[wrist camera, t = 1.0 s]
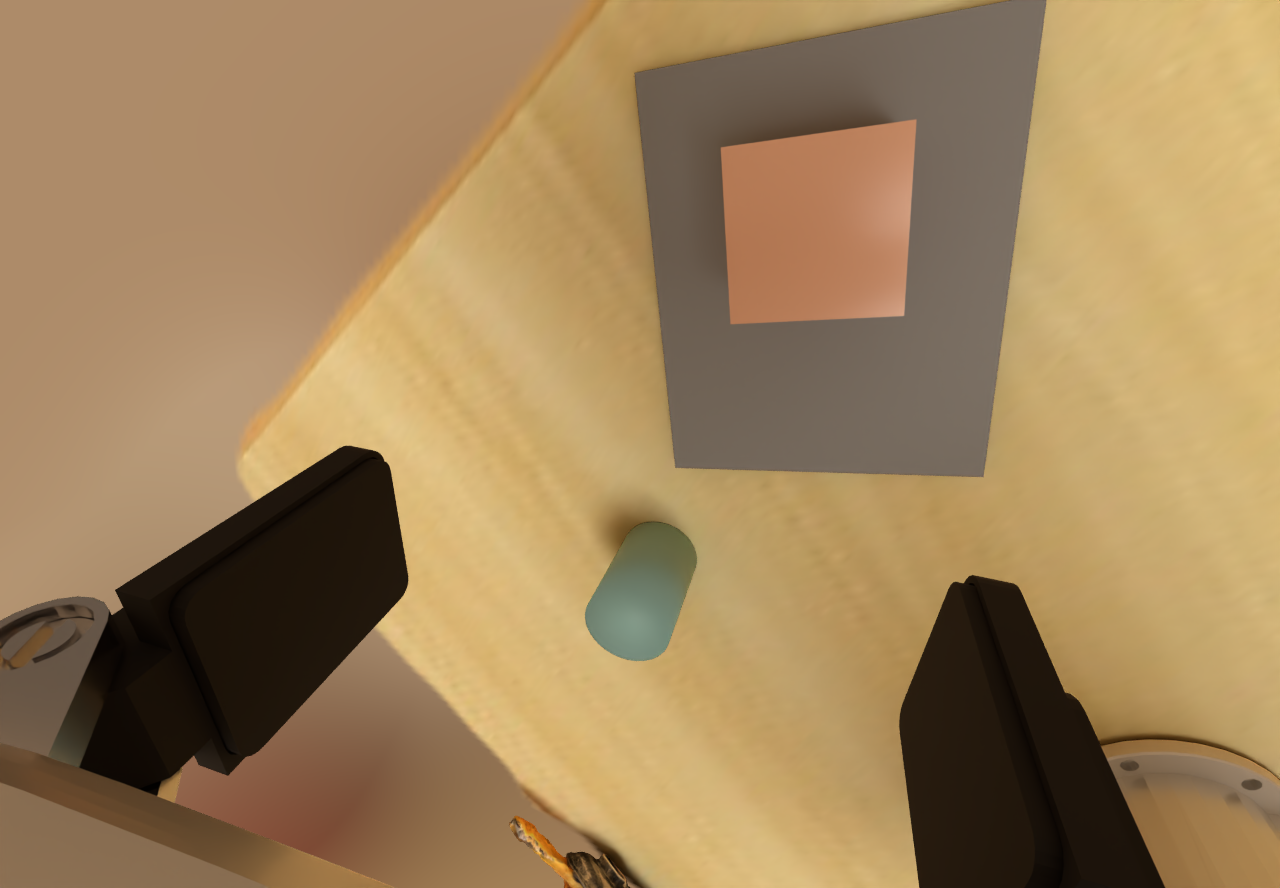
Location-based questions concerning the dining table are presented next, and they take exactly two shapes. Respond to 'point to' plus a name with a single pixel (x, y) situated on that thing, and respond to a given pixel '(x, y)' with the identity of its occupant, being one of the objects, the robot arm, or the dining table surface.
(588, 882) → the black and orange piece
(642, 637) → the cylinder
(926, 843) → the robot arm
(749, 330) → the board
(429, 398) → the dining table surface
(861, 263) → the block
